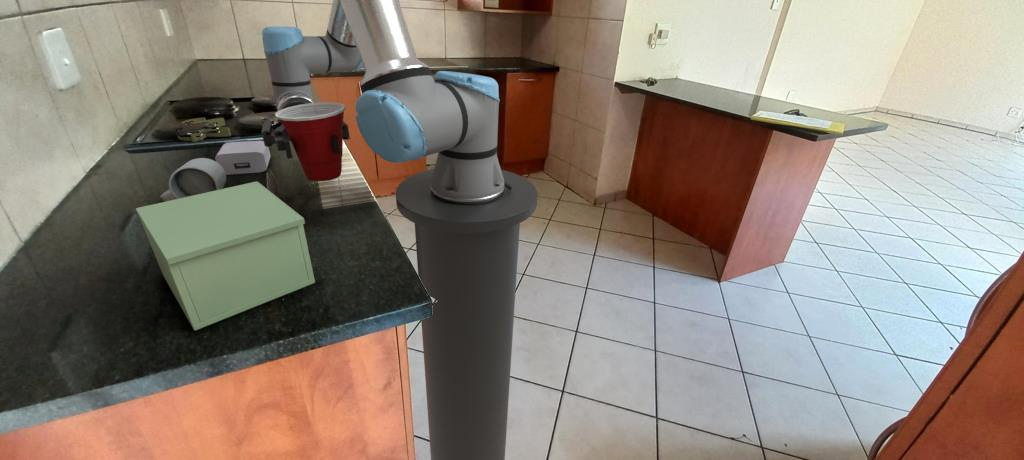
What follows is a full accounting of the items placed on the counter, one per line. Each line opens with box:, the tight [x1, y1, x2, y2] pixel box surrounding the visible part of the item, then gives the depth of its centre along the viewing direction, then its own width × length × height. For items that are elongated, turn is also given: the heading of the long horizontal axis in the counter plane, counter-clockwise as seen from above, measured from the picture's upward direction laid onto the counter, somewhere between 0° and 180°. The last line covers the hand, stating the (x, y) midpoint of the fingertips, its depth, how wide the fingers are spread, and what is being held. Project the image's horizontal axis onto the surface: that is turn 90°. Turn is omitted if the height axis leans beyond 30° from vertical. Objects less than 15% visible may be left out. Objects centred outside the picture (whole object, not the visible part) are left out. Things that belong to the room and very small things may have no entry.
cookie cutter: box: [176, 117, 232, 143], centre depth 119 cm, size 18×12×2 cm, turn 36°
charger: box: [214, 140, 272, 176], centre depth 99 cm, size 5×9×15 cm
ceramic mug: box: [159, 157, 227, 202], centre depth 80 cm, size 11×8×8 cm
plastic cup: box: [274, 101, 346, 182], centre depth 72 cm, size 11×11×12 cm
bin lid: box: [135, 181, 306, 265], centre depth 55 cm, size 16×15×1 cm
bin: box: [137, 214, 316, 331], centre depth 58 cm, size 16×15×10 cm
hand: (312, 147), depth 68 cm, fingers closed on plastic cup, 6 cm apart
